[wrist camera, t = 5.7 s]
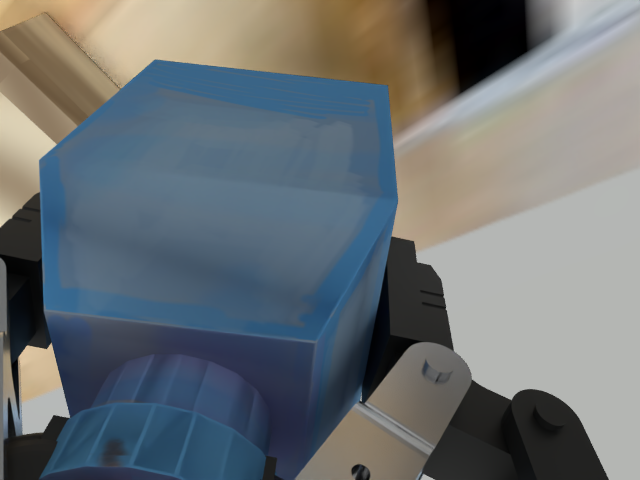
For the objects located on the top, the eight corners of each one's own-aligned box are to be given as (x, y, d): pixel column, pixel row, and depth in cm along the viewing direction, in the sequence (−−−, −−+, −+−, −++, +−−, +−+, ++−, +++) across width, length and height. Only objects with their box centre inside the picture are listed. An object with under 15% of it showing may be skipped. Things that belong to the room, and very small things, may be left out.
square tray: (45, 12, 27) (-15, 37, 23) (214, 187, 32) (191, 235, 28) (-80, 148, 32) (-150, 191, 27) (85, 284, 36) (47, 338, 32)
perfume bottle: (169, 250, 18) (-76, 714, 8) (154, 59, 15) (-301, 455, 5) (358, 272, 18) (344, 767, 8) (387, 85, 15) (428, 543, 5)
